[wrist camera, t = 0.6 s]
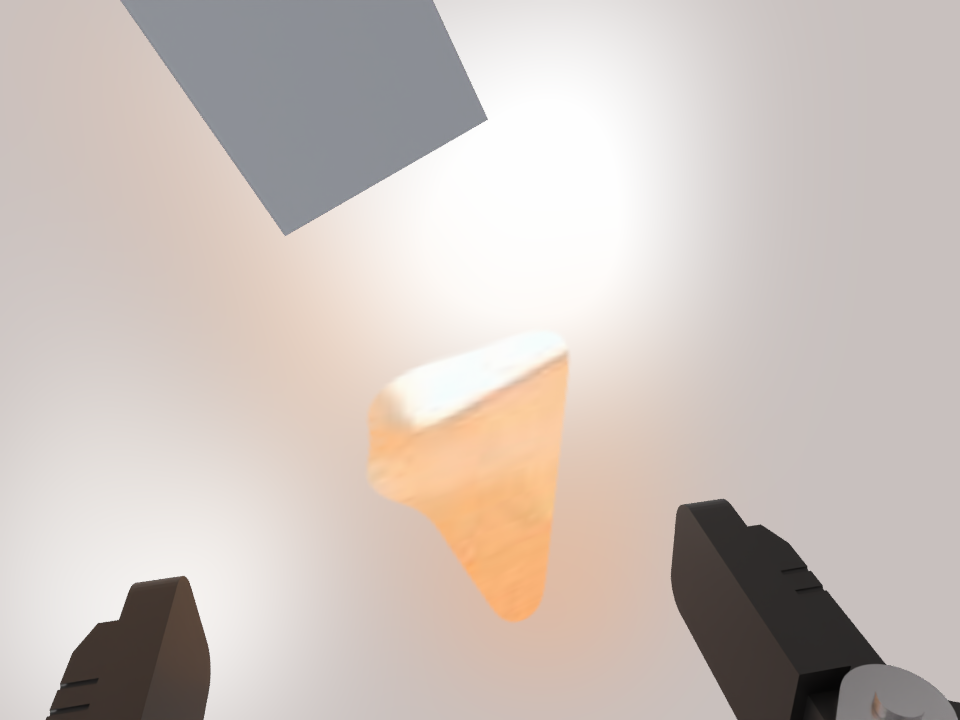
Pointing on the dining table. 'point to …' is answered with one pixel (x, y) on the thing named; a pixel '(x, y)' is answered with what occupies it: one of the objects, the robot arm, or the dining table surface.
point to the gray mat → (315, 90)
